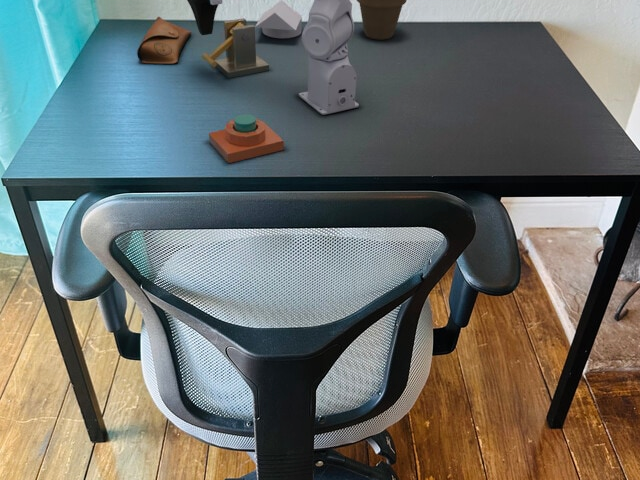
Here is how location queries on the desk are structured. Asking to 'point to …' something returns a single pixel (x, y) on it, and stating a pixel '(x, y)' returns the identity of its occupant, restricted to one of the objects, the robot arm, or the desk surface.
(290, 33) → the wedge on round base
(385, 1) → the flower pot
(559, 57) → the desk surface
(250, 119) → the button
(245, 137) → the button block
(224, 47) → the tap lever
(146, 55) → the sunglasses case
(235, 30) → the bracket
